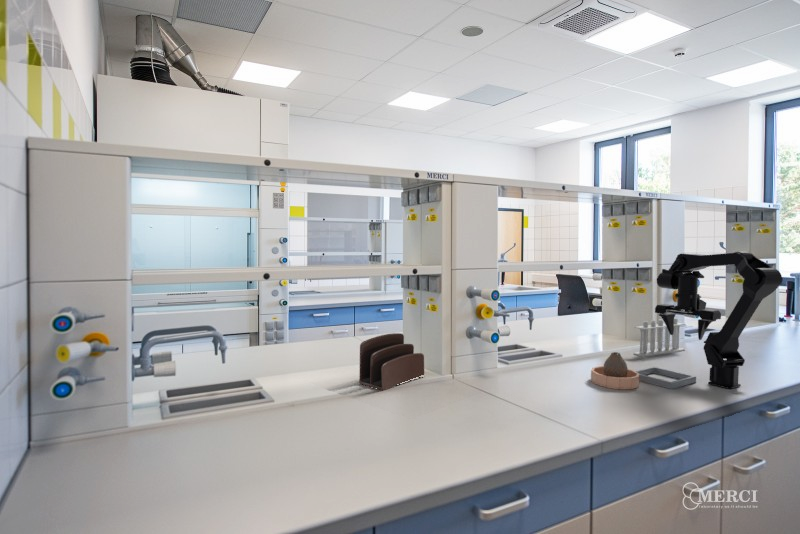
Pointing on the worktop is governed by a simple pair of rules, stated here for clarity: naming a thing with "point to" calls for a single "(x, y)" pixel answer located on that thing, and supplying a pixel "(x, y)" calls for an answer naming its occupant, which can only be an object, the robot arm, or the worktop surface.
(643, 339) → the test tube rack
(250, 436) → the worktop surface
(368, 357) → the letter holder
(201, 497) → the worktop surface
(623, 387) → the bowl
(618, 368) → the vase
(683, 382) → the parts tray
